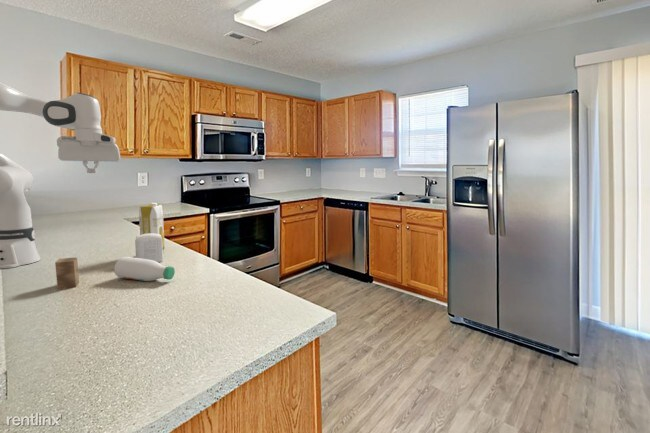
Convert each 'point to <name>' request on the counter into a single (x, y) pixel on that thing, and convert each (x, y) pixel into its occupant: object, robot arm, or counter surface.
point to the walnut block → (67, 273)
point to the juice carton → (151, 220)
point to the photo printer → (149, 247)
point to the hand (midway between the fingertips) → (91, 173)
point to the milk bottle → (142, 269)
